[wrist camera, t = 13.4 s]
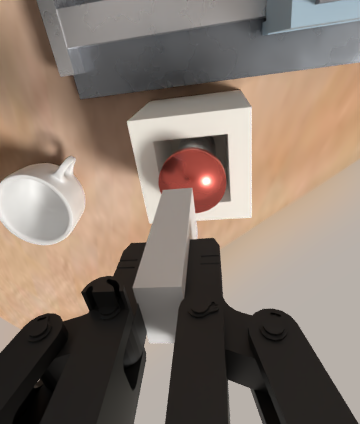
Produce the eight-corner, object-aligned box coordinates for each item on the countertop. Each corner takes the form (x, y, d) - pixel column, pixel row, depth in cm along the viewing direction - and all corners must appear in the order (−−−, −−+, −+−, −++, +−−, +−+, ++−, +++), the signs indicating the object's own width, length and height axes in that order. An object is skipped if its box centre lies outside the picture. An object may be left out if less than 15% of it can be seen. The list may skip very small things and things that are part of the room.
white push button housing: (164, 185, 29) (150, 227, 22) (150, 101, 25) (126, 121, 18) (242, 179, 28) (251, 221, 21) (240, 89, 24) (251, 107, 17)
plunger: (176, 173, 26) (164, 215, 19) (168, 125, 24) (153, 154, 17) (223, 169, 25) (227, 211, 19) (221, 119, 23) (224, 147, 17)
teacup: (74, 228, 34) (52, 257, 29) (15, 191, 32) (-18, 216, 27) (117, 169, 29) (99, 193, 24) (51, 121, 27) (18, 137, 22)
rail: (83, 97, 26) (68, 103, 23) (42, -47, 21) (17, -60, 18) (384, 57, 22) (408, 59, 19) (423, -131, 17) (464, -165, 14)
